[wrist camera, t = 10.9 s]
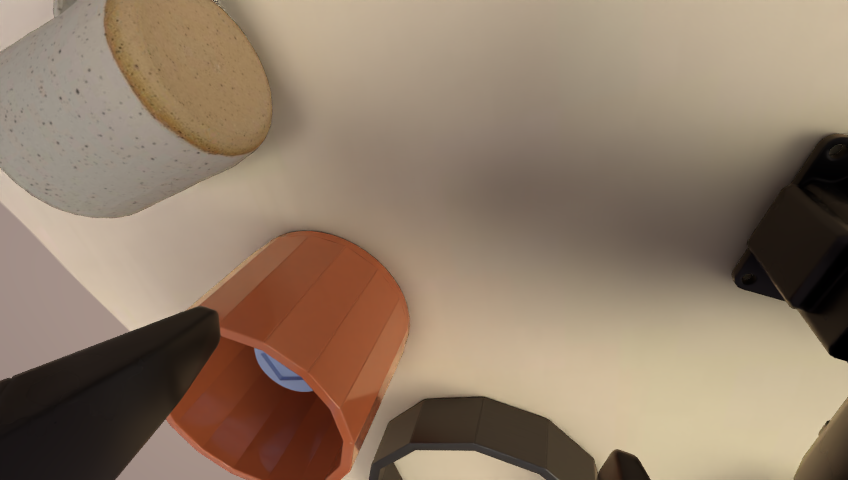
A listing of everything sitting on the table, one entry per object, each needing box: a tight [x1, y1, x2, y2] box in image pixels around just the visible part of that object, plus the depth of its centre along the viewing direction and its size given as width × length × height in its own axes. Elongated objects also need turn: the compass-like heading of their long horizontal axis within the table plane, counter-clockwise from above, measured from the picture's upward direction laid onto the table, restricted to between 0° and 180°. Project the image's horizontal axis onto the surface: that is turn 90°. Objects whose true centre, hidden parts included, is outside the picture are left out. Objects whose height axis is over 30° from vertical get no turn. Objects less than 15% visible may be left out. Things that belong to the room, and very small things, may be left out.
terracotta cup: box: [166, 231, 410, 480], centre depth 23 cm, size 10×10×8 cm
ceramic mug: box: [0, 0, 272, 218], centre depth 17 cm, size 11×8×8 cm
